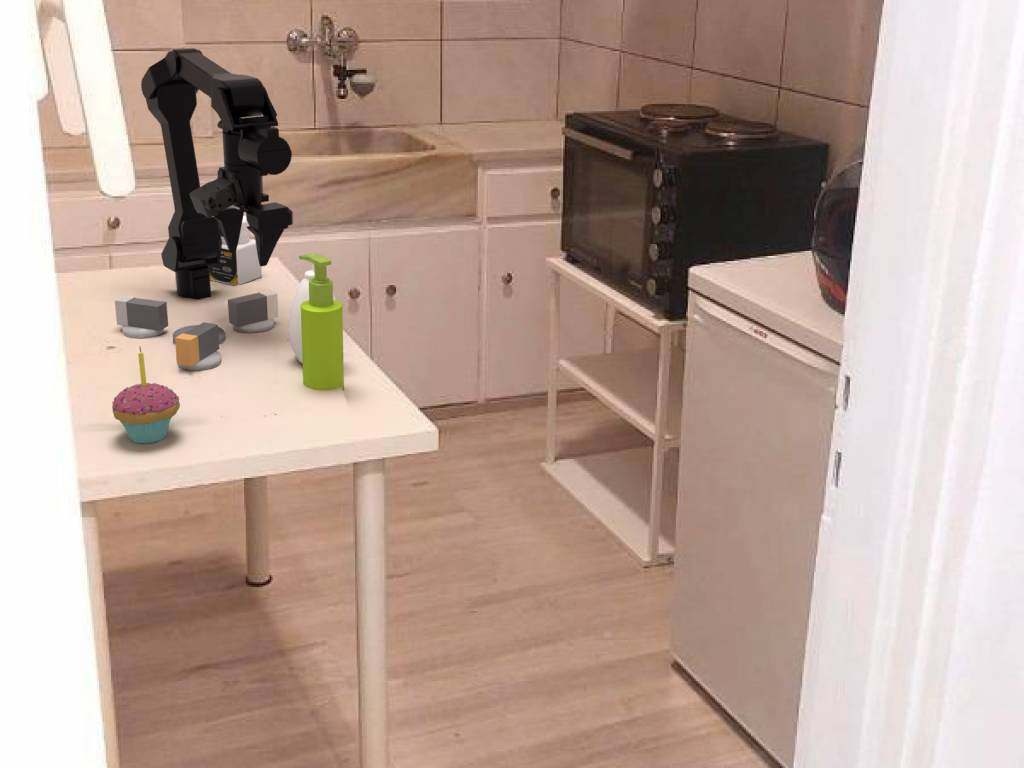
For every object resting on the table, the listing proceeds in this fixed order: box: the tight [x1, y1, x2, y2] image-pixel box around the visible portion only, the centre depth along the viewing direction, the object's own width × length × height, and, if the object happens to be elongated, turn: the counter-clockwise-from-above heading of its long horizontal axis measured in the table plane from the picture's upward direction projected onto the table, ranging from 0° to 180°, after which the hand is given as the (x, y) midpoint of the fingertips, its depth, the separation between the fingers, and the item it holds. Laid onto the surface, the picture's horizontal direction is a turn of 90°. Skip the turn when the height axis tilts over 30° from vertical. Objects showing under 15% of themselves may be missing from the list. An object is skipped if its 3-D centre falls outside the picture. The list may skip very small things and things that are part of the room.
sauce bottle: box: [288, 262, 336, 364], centre depth 177 cm, size 8×8×18 cm
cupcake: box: [111, 345, 181, 444], centre depth 154 cm, size 9×8×12 cm
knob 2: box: [227, 289, 279, 334], centre depth 192 cm, size 8×6×5 cm
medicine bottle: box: [209, 215, 263, 287], centre depth 217 cm, size 7×7×12 cm
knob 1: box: [174, 321, 222, 371], centre depth 176 cm, size 8×6×5 cm
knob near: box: [114, 295, 169, 339], centre depth 188 cm, size 8×6×5 cm
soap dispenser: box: [298, 253, 345, 392], centre depth 169 cm, size 6×7×20 cm
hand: (247, 258), depth 188 cm, fingers open, 9 cm apart
